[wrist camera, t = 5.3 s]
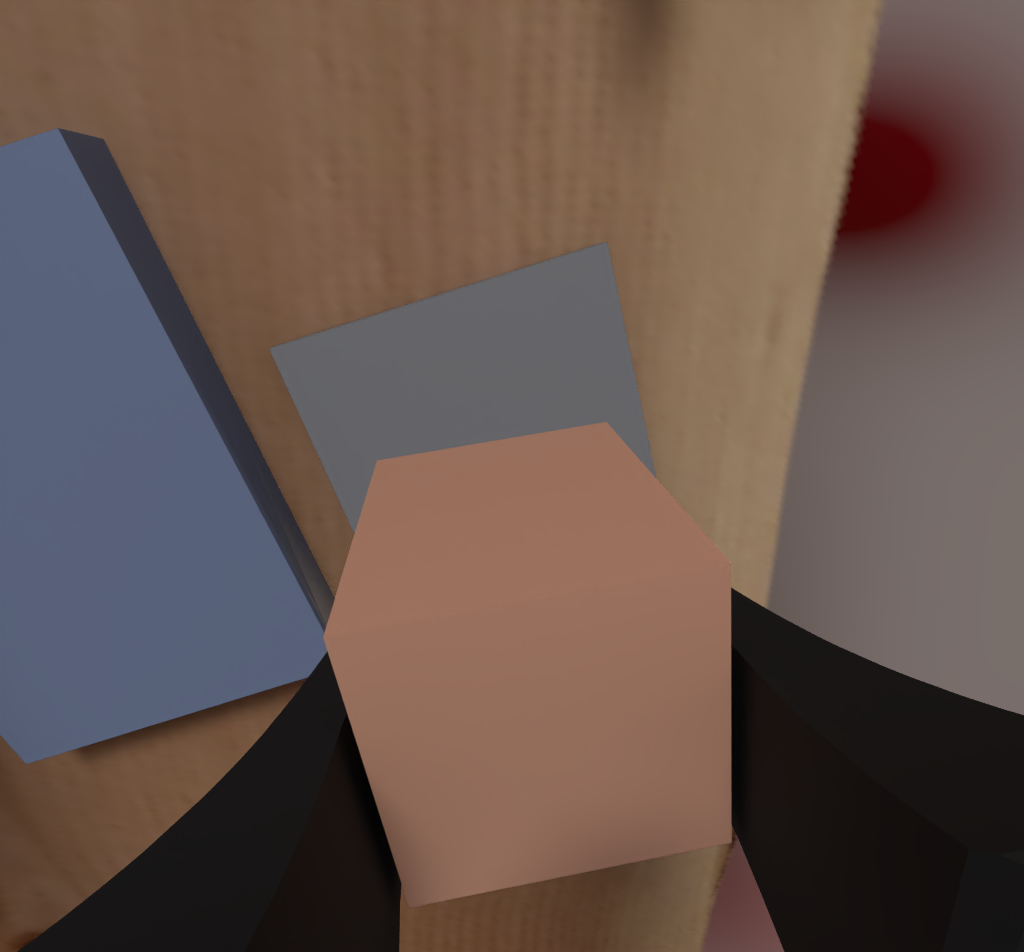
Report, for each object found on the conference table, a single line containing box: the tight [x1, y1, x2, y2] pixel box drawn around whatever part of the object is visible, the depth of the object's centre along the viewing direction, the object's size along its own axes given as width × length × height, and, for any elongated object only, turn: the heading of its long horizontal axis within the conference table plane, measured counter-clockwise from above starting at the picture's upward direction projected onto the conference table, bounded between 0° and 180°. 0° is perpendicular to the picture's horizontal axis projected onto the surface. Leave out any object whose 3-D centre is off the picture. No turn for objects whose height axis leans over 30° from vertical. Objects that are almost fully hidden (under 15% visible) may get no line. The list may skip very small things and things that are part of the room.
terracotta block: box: [323, 422, 731, 908], centre depth 10 cm, size 4×4×6 cm
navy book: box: [0, 128, 335, 764], centre depth 18 cm, size 16×11×2 cm
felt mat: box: [270, 242, 656, 534], centre depth 19 cm, size 10×10×1 cm
